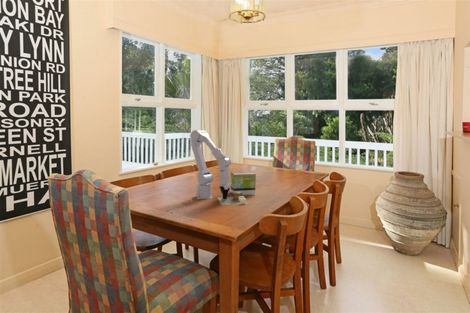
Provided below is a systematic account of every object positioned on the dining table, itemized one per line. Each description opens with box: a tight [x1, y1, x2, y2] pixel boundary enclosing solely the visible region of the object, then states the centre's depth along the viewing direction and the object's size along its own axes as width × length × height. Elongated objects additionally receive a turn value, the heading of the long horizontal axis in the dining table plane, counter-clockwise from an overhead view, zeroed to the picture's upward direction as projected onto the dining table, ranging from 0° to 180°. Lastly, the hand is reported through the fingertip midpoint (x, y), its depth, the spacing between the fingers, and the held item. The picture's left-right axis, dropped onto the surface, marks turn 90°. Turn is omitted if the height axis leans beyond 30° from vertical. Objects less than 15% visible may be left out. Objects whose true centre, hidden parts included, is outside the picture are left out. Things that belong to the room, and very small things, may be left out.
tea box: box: [229, 171, 257, 196], centre depth 214 cm, size 15×10×15 cm, turn 105°
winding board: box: [217, 191, 249, 206], centre depth 196 cm, size 16×18×6 cm
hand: (224, 198), depth 197 cm, fingers closed on lead tab, 3 cm apart
